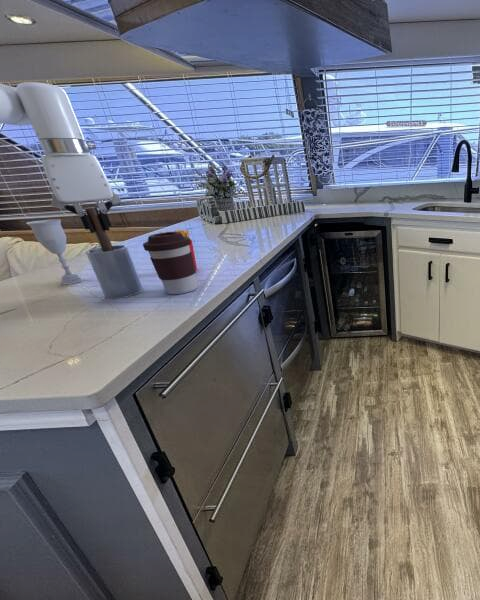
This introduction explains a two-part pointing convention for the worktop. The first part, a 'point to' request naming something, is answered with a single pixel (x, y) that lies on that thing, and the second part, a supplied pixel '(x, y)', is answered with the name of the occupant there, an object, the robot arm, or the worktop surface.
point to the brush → (99, 229)
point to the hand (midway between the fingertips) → (99, 230)
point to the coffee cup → (172, 261)
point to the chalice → (54, 244)
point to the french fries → (189, 245)
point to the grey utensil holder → (115, 271)
